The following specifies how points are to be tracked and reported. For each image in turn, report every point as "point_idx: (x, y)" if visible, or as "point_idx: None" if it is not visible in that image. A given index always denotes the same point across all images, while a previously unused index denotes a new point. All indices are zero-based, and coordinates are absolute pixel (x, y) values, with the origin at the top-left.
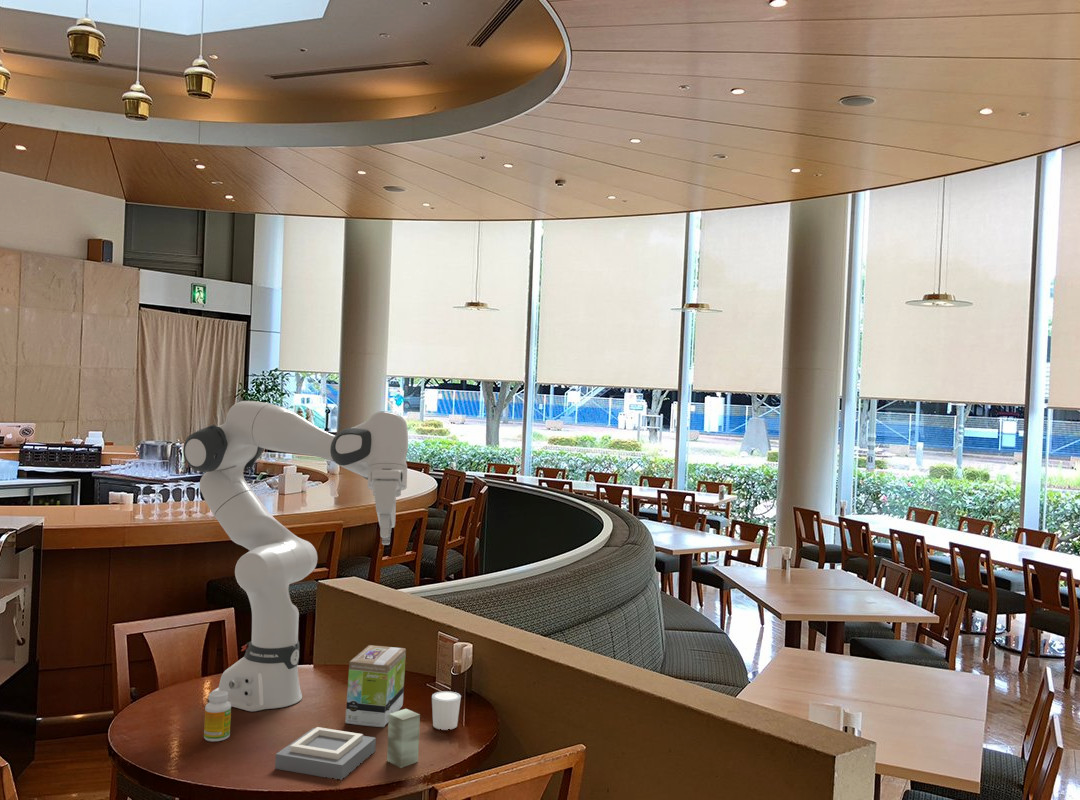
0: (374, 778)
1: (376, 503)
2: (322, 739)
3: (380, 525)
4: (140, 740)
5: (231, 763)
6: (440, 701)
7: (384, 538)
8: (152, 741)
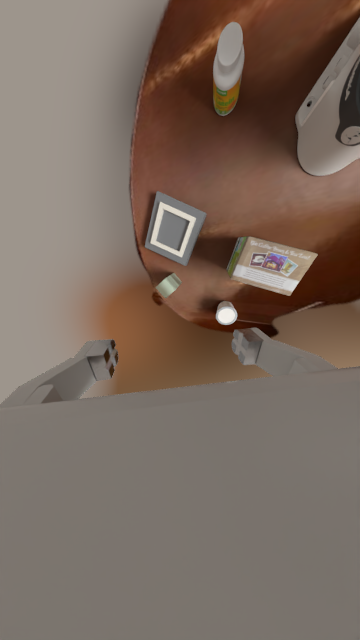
0: (152, 266)
1: None
2: (183, 225)
3: (56, 366)
4: None
5: (168, 147)
6: (217, 311)
7: (242, 344)
8: None
